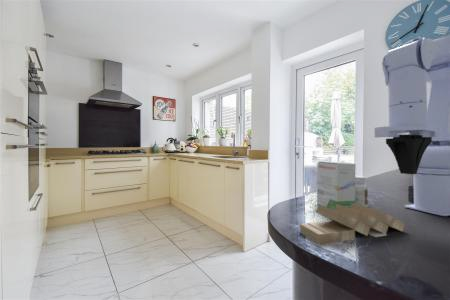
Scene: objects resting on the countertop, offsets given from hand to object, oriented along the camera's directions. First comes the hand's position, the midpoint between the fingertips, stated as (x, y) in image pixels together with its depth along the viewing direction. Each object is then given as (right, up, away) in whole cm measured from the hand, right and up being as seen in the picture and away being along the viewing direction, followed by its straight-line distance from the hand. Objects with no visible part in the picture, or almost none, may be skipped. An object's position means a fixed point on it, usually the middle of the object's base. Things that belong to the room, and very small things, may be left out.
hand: (408, 173), depth 41 cm
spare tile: (-13, -9, -3) cm, 16 cm away
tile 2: (-9, -9, -2) cm, 13 cm away
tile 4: (-15, -10, -4) cm, 19 cm away
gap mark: (-11, -10, -3) cm, 15 cm away
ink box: (-8, -10, +12) cm, 18 cm away
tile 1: (-5, -9, -1) cm, 11 cm away
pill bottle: (-1, -10, +14) cm, 17 cm away
